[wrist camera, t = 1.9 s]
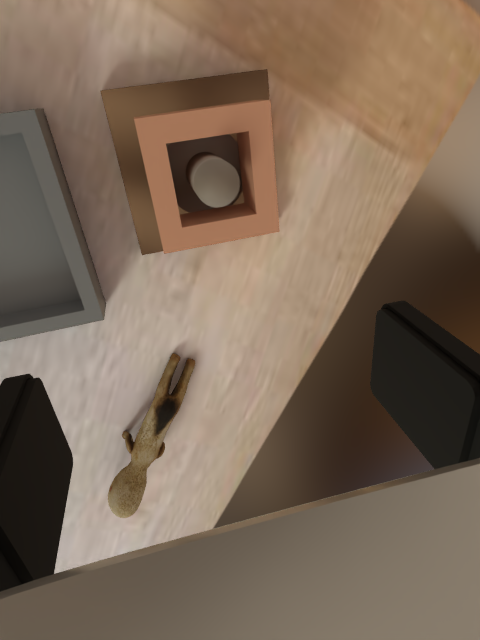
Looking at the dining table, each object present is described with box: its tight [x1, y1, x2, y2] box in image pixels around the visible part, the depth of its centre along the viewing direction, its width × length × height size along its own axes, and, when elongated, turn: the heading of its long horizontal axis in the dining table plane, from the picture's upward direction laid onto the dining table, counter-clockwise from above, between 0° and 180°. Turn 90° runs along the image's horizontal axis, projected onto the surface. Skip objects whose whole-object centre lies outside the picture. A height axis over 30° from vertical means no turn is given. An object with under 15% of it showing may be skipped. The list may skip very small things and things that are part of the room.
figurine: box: [108, 353, 195, 518], centre depth 35 cm, size 4×4×15 cm
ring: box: [134, 100, 279, 254], centre depth 23 cm, size 7×7×3 cm
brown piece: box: [101, 69, 269, 255], centre depth 24 cm, size 10×10×7 cm
